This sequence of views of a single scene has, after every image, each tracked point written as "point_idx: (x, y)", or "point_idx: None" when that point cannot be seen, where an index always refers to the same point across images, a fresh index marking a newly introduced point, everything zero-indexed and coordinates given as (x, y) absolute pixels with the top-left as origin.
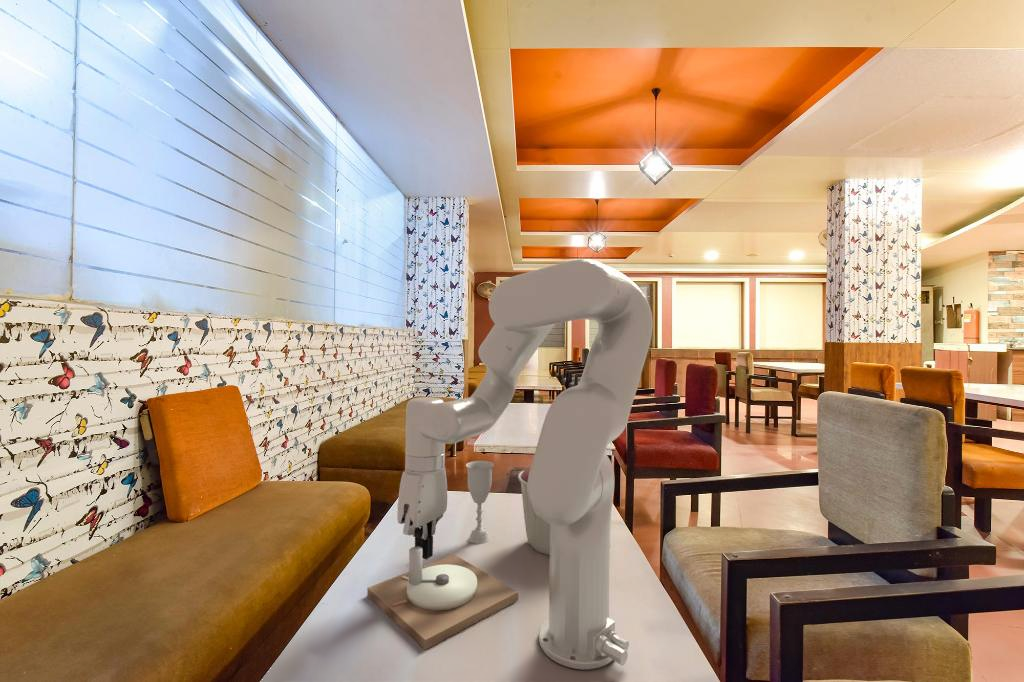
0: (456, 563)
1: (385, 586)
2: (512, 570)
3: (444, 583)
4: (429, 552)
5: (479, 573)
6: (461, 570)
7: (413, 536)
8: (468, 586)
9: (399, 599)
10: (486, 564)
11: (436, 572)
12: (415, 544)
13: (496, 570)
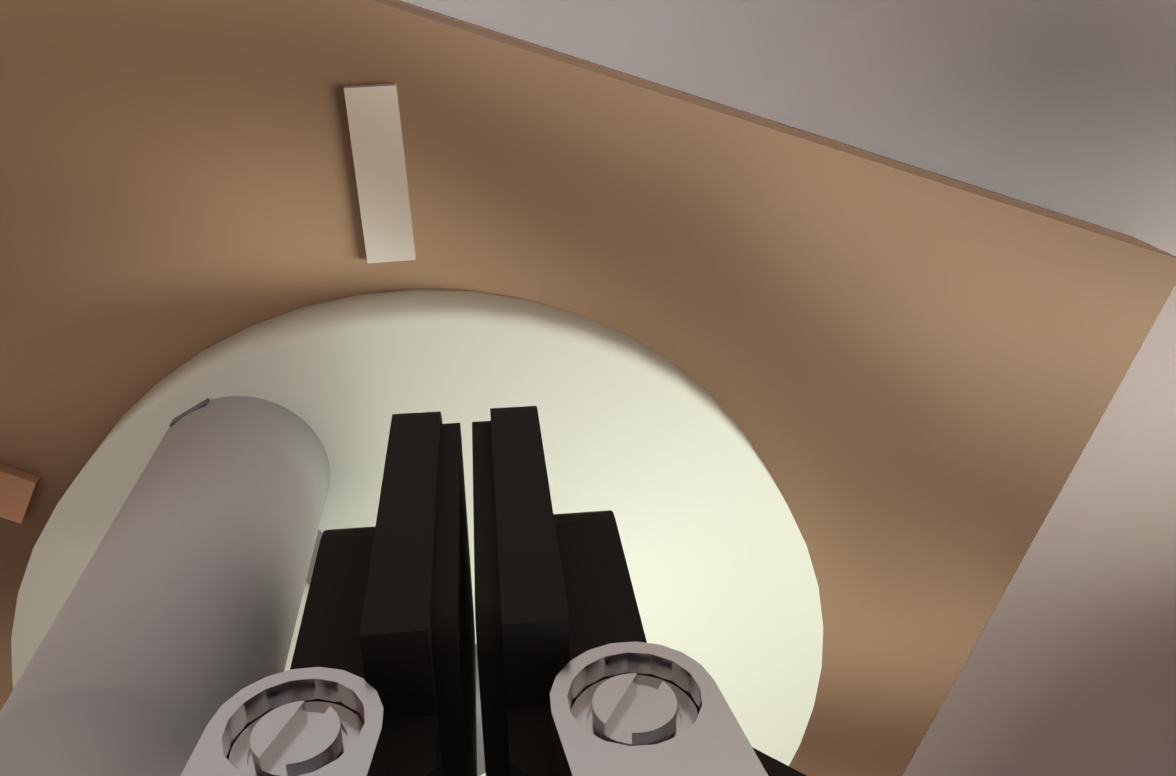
0: (980, 426)
1: (56, 52)
2: (1131, 769)
3: None
4: (475, 687)
5: (884, 715)
6: (741, 704)
7: (240, 702)
8: None
9: (2, 414)
10: (1167, 550)
11: None
12: (382, 522)
13: (1087, 675)
